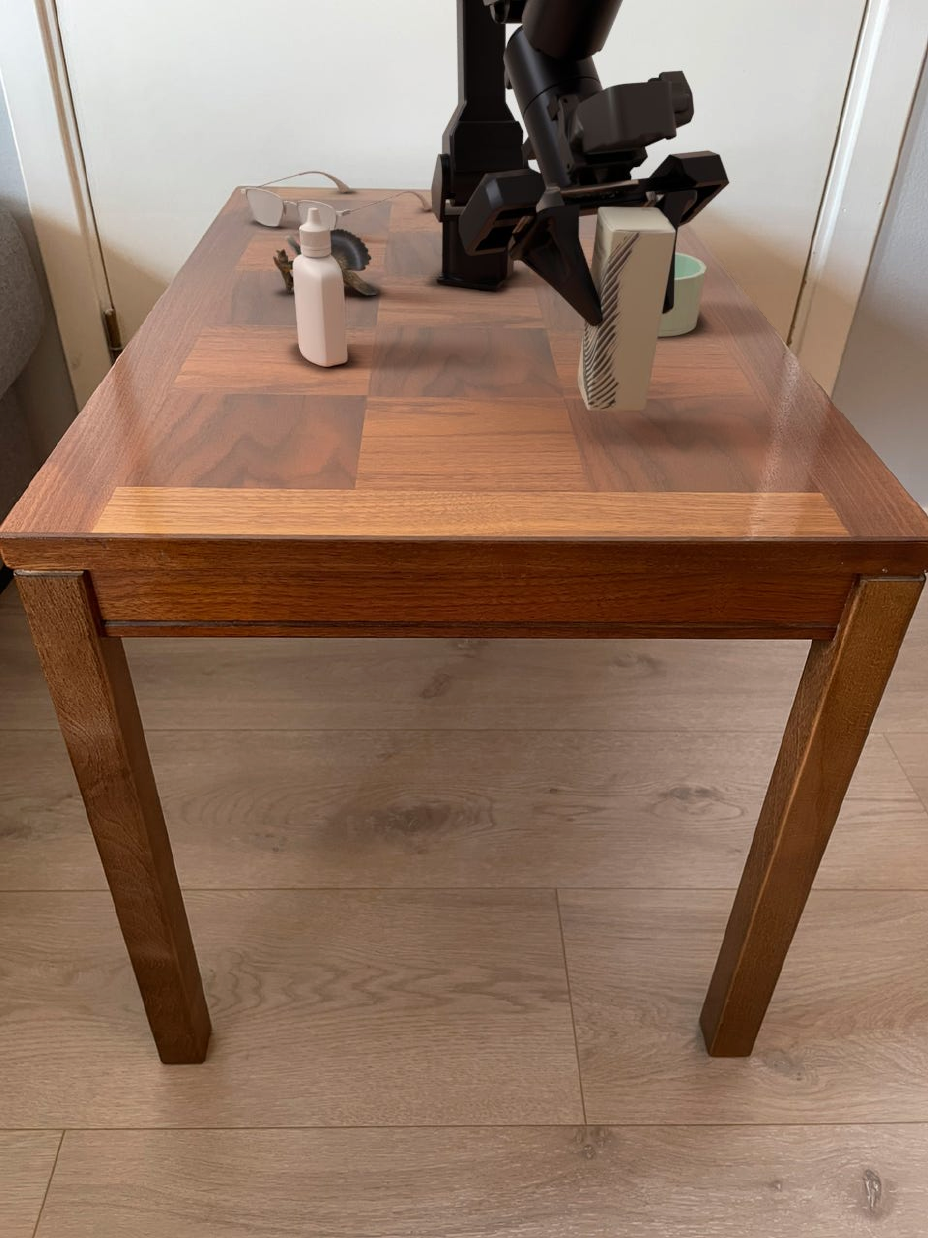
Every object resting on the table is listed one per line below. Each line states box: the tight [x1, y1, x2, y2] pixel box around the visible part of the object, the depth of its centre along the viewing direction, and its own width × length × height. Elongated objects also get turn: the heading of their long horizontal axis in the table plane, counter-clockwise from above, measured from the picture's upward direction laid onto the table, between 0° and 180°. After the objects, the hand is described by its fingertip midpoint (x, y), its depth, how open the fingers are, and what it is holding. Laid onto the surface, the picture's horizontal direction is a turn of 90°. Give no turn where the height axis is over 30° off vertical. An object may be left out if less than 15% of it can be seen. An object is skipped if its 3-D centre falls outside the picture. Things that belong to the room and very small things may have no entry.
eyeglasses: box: [240, 170, 432, 230], centre depth 116 cm, size 15×18×4 cm
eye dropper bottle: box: [292, 208, 349, 368], centre depth 80 cm, size 4×6×12 cm
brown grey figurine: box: [272, 228, 378, 297], centre depth 94 cm, size 8×7×9 cm
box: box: [576, 207, 676, 412], centre depth 67 cm, size 5×4×13 cm
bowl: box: [658, 251, 708, 338], centre depth 90 cm, size 9×9×5 cm
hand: (633, 317), depth 66 cm, fingers closed on box, 5 cm apart
